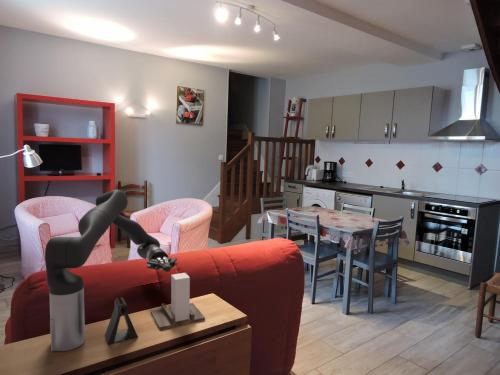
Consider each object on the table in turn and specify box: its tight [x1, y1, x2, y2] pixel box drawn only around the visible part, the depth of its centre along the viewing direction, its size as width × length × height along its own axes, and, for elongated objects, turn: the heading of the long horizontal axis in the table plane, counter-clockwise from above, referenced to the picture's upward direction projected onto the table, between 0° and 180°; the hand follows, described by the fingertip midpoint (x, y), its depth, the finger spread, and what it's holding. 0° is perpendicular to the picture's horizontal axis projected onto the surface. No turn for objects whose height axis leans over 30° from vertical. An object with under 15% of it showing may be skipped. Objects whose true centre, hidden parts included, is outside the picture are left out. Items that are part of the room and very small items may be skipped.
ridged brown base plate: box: [150, 302, 206, 331], centre depth 127 cm, size 16×13×3 cm
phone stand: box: [104, 296, 138, 346], centre depth 113 cm, size 9×6×12 cm, turn 120°
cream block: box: [170, 272, 191, 322], centre depth 124 cm, size 5×5×15 cm
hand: (168, 269), depth 136 cm, fingers closed
